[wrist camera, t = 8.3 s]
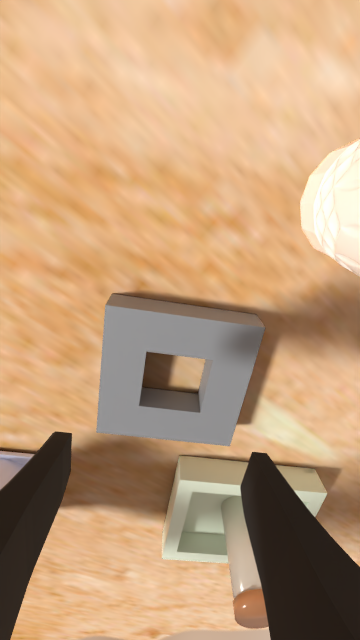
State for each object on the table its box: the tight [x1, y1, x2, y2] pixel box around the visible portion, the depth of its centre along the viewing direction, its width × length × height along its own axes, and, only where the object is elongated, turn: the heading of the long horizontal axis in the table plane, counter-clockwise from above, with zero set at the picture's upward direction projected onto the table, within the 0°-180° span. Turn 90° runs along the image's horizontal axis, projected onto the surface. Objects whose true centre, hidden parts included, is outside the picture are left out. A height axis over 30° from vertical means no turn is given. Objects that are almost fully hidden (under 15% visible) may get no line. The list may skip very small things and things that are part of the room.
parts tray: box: [162, 455, 327, 563], centre depth 27 cm, size 12×10×2 cm
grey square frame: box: [96, 294, 265, 446], centre depth 21 cm, size 10×10×2 cm
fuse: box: [221, 496, 269, 628], centre depth 24 cm, size 3×3×8 cm
